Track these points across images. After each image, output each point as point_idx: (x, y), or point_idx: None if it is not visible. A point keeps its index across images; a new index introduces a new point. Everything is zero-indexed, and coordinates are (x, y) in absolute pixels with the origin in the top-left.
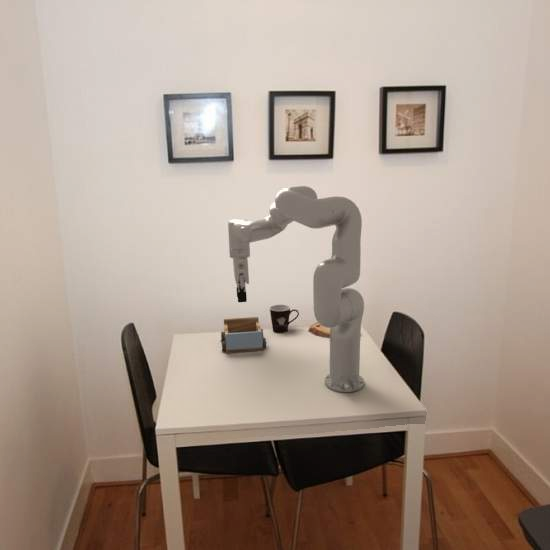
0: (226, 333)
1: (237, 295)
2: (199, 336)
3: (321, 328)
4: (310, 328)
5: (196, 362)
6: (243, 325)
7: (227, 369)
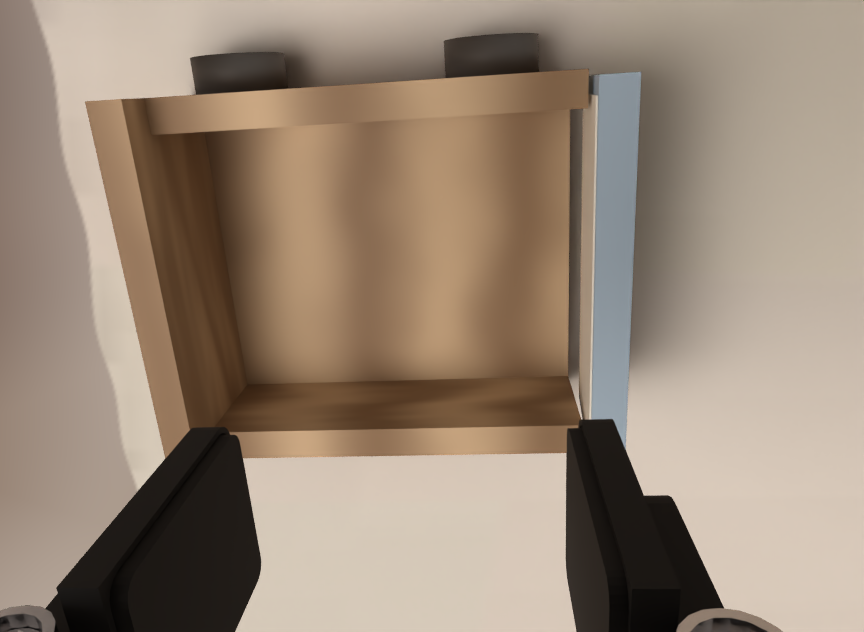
0: None
1: (248, 594)
2: None
3: None
4: None
5: None
6: (194, 264)
7: (859, 374)
